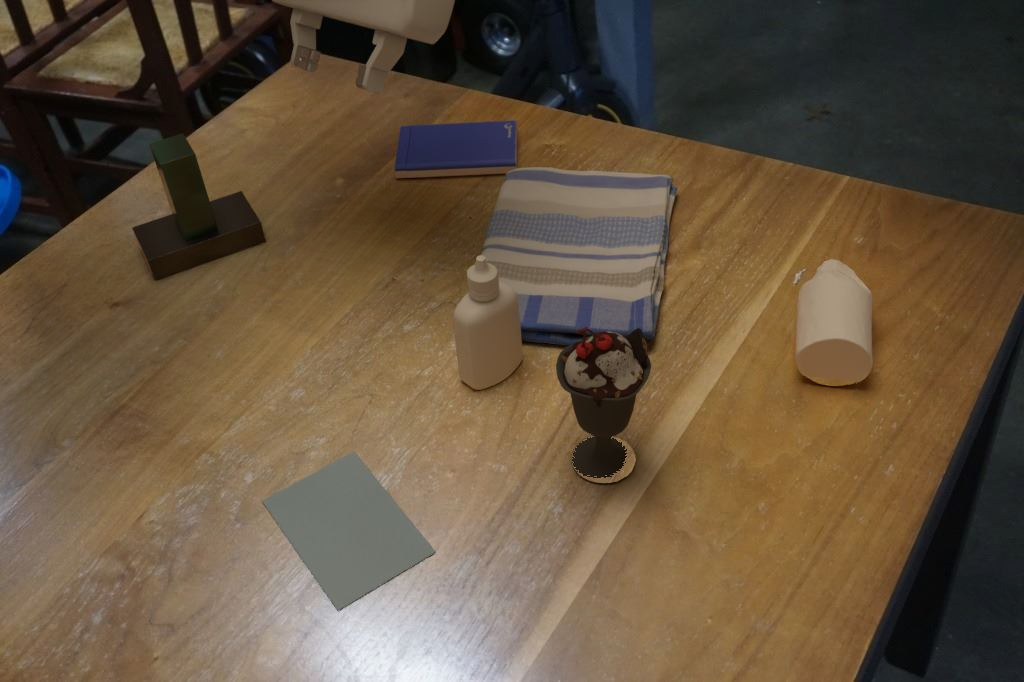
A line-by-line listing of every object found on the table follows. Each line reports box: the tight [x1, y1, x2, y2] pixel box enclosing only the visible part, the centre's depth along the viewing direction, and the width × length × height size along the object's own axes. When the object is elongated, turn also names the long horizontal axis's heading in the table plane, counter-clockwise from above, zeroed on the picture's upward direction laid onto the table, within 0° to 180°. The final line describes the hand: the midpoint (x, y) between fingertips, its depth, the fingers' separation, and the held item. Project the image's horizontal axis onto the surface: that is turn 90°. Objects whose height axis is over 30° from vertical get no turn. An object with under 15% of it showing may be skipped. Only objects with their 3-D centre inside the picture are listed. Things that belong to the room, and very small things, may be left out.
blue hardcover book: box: [394, 119, 518, 179], centre depth 115 cm, size 2×8×12 cm
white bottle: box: [794, 258, 874, 383], centre depth 90 cm, size 6×12×6 cm, turn 168°
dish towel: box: [480, 166, 679, 346], centre depth 101 cm, size 17×24×3 cm
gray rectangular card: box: [261, 450, 436, 612], centre depth 81 cm, size 12×8×1 cm, turn 35°
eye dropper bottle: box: [452, 254, 524, 391], centre depth 88 cm, size 4×6×12 cm
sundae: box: [555, 326, 652, 478], centre depth 79 cm, size 7×7×15 cm
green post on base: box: [131, 133, 267, 281], centre depth 103 cm, size 11×6×11 cm, turn 118°
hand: (334, 79), depth 89 cm, fingers open, 8 cm apart
